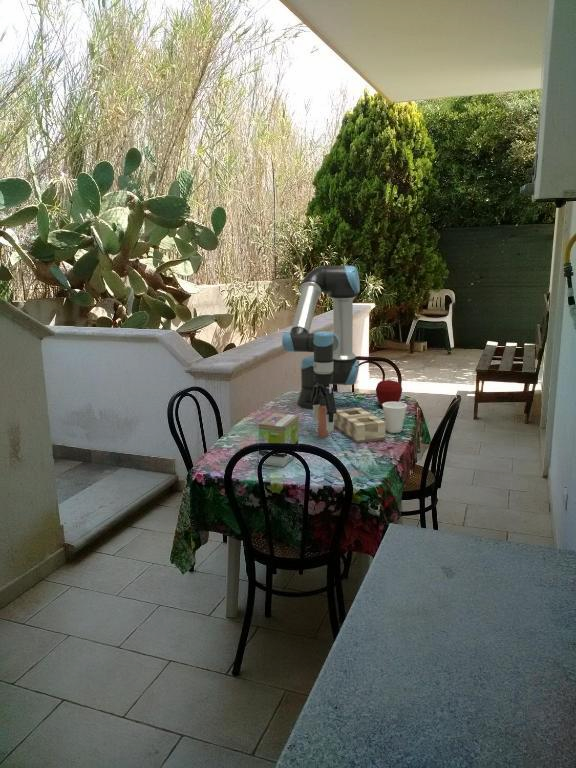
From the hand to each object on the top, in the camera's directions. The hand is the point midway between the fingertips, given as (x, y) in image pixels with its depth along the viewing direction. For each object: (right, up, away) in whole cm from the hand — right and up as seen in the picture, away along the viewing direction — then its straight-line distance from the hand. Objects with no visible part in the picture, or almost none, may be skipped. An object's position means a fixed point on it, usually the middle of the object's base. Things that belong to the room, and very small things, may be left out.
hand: (323, 425), depth 230 cm
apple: (+33, +5, +42) cm, 54 cm away
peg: (0, -5, +1) cm, 5 cm away
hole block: (+15, -3, +5) cm, 16 cm away
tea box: (-17, -10, -22) cm, 30 cm away
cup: (+29, -3, +7) cm, 30 cm away
